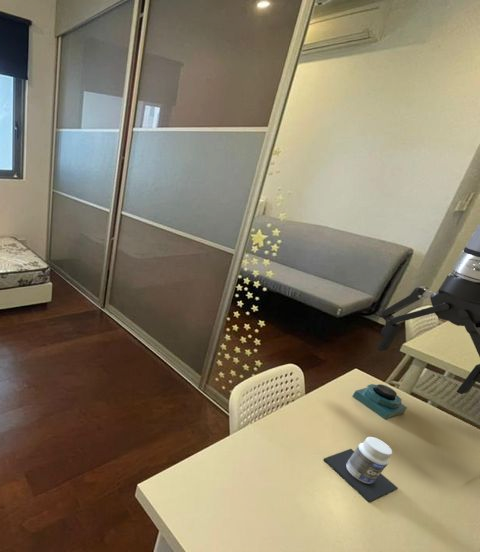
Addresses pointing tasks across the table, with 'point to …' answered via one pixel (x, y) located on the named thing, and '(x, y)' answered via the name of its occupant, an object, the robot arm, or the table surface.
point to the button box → (379, 402)
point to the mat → (366, 490)
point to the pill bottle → (369, 460)
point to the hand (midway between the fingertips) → (418, 369)
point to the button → (385, 392)
